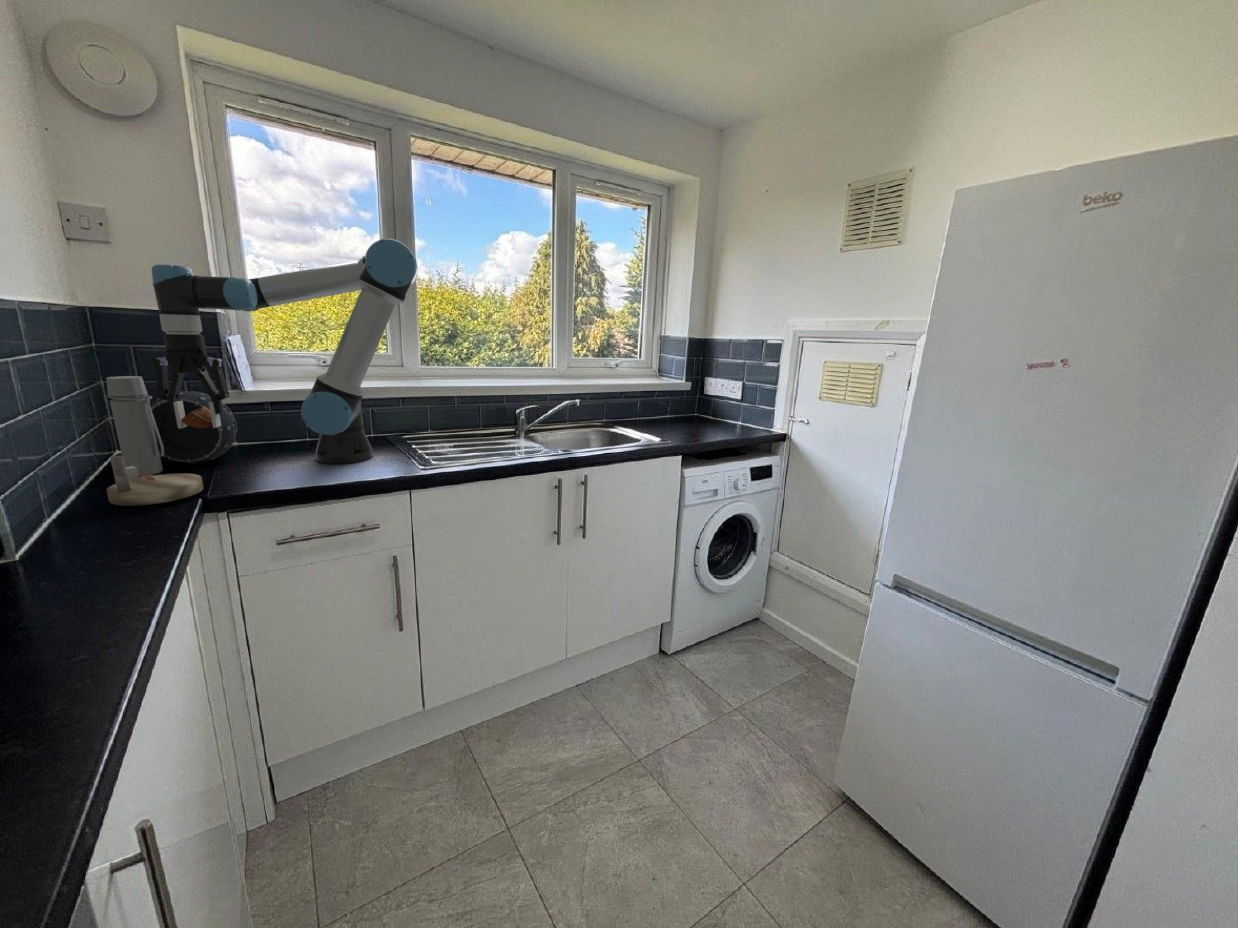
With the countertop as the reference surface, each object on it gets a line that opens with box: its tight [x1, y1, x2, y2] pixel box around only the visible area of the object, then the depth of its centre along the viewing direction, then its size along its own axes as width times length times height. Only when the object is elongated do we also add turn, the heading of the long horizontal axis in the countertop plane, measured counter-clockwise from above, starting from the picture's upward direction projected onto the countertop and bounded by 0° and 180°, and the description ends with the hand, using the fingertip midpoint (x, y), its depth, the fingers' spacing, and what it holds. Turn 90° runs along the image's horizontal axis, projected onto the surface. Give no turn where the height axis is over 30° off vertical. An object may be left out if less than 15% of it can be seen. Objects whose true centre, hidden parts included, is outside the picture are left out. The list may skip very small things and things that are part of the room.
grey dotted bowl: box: [150, 391, 238, 465], centre depth 143 cm, size 11×20×20 cm, turn 107°
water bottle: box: [106, 375, 165, 476], centre depth 130 cm, size 9×8×25 cm
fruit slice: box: [181, 407, 213, 428], centre depth 129 cm, size 8×7×5 cm
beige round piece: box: [106, 455, 204, 507], centre depth 115 cm, size 16×19×10 cm
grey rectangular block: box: [126, 466, 139, 480], centre depth 121 cm, size 2×2×5 cm
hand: (200, 426), depth 130 cm, fingers closed on fruit slice, 7 cm apart
